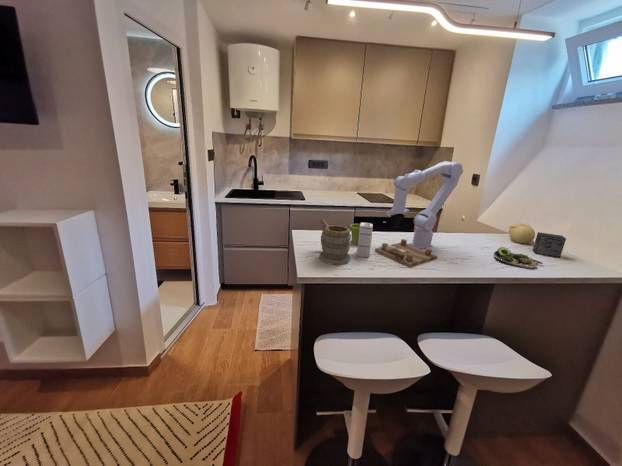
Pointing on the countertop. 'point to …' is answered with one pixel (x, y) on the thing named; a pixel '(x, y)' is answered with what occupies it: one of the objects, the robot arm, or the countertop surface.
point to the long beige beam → (393, 249)
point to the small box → (549, 245)
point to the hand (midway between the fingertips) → (395, 228)
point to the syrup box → (364, 239)
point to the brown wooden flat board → (408, 254)
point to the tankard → (335, 244)
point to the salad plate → (514, 258)
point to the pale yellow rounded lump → (521, 233)
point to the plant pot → (355, 232)
